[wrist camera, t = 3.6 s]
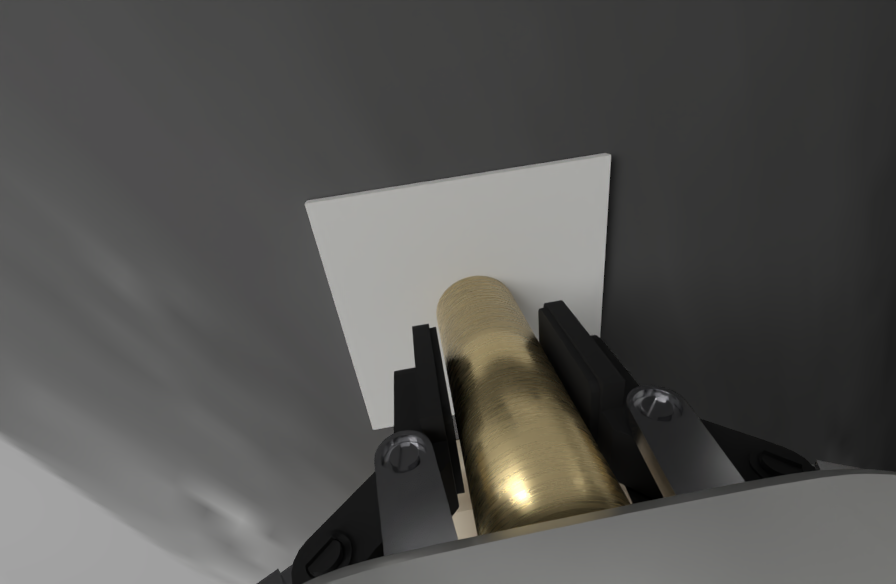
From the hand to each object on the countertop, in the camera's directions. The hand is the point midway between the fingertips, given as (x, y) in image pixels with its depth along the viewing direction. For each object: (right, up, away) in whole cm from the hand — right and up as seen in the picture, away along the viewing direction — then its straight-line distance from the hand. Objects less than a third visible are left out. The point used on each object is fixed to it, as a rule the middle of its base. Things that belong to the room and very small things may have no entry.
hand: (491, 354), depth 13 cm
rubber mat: (0, +1, +3) cm, 3 cm away
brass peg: (0, +1, +2) cm, 3 cm away
